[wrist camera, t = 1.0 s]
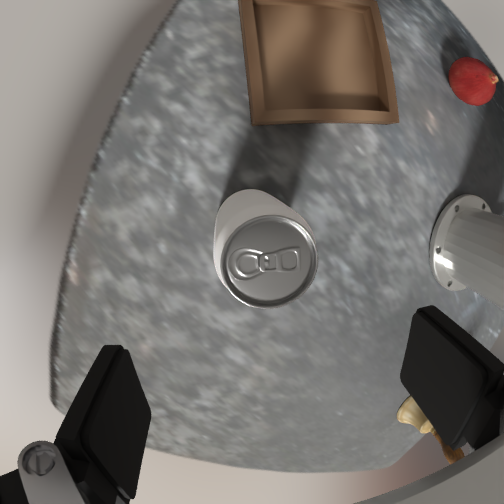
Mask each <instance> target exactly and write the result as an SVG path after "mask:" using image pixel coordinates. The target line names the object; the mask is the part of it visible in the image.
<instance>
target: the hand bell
mask: <svg viewBox="0 0 504 504" xmlns="http://www.w3.org/2000/svg"><path fill="white" fill-rule="evenodd" d="M397 419H398V421H400V422H402V423H410V424H412V425H414V426H415V427H416V428H417V429H418V430H419V431H420V432H421V433H428V432H432V434H433V435H434V436H435V438H436V439H437V440H438V441H439V443H440V444H441V446H442V449H443V452H444V455H445V457H446V459H447V460H448V462H449V463H450V464H453V463H455V462H456V461H458V460H460V459H462V458H464V457H465V456H464V453H463V451H462V450H461V448H458V449H457V450H455V451H453V450H452V448H451V447H450V446H449V445H446V444H445V443H444V442H443V441H442V439H441V438H440V436H439V435H438V433H437V432H436V430H435V429H434V427H433V426H432V425H431V423H430V422H429V420H428V419H427V417H426V416H425V415H424V413H423V412H422V410H421V409H420V408H419V406H418V405H417V403H416V402H415V400H414V399H413V398H412V396H410V397H409V398H407V399H406V400H405V402H404V403H403V404H402V405H401V407H400V408H399V410H398V413H397Z"/></svg>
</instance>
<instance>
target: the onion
mask: <svg viewBox="0 0 504 504" xmlns="http://www.w3.org/2000/svg"><path fill="white" fill-rule="evenodd" d="M448 77H449V83H450V87H451V88H452V90H453V92H454V93H455V95H456V96H457V97H458V98H459V99H461V100H462V101H463V102H465V103H467V104H470V105H475V106H479V105H483V104H485V103H487V102H489V101H490V100H491V98H492V97H493V95H494V93H495V90H496V82H498V81H499V80H498V77H497V76H496V75H495V74H494V73H493V72H492V71H491V69H490V68H489V67H488V66H486V65H485V64H484V63H483V62H482V61H480V60H478V59H474V58H470V57H462V58H460V59H458V60H456V61H455V62H454V63H453V64H452V66H451V67H450V70H449V76H448Z"/></svg>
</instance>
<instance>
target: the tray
mask: <svg viewBox="0 0 504 504" xmlns="http://www.w3.org/2000/svg"><path fill="white" fill-rule="evenodd" d="M238 4H239V13H240V22H241V31H242V39H243V49H244V58H245V67H246V76H247V86H248V95H249V105H250V115H251V125H252V126H260V125H275V124H297V123H364V124H386V125H387V124H393V123H399V115H398V106H397V98H396V91H395V84H394V78H393V72H392V66H391V61H390V55H389V50H388V45H387V41H386V36H385V32H384V28H383V23H382V19H381V16H380V12H379V8H378V4H377V1H374V0H238Z"/></svg>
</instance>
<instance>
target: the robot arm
mask: <svg viewBox="0 0 504 504" xmlns="http://www.w3.org/2000/svg"><path fill="white" fill-rule="evenodd" d="M429 255H430V266H431V270H432V273H433V276H434V277H435V279H436V280H437V282H438V283H439V284H440V285H441V286H443V287H445V288H446V289H448V290H451V291H460V290H463V289H466V288H467V287H468V288H469V289H471V290H473V291H474V292H476V293H477V294H479V295H481V296H482V297H484V298H485V299H487V300H488V301H490V302H492V303H493V304H495V305H496V306H498V307H499V308H501V309H502V310H504V216H500V215H497V214H494V213H492V212H491V209H490V207H489V206H488V204H487V203H486V202H485V201H484V200H483V199H482V198H480V197H478V196H475V195H471V194H464V195H461V196H458V197H456V198H455V199H453V200H452V201H451V202H450V203H449V204H448V205H447V206H446V207H445V208H444V209H443V211H442V212H441V214H440V216H439V218H438V220H437V222H436V224H435V227H434V230H433V233H432V237H431V241H430V250H429ZM503 373H504V364H503V363H502V362H501V361H500V360H499V359H498V358H496V357H495V356H494V355H493V354H492V353H491V352H490V351H489V350H487V349H486V348H485V347H484V346H483V345H482V344H480V343H479V342H478V341H477V340H476V339H474V338H473V337H472V336H471V335H470V334H469V333H467V332H466V331H465V330H464V329H462V328H461V327H460V326H459V325H458V324H456V323H455V322H454V321H453V320H451V319H450V318H449V317H448V316H446V315H445V314H444V313H443V312H441V311H440V310H439V309H438V308H436V307H435V306H433V305H430V306H426V307H422V308H419V309H417V311H416V313H415V314H414V315H413V317H412V323H411V328H410V333H409V338H408V343H407V348H406V352H405V357H404V361H403V365H402V369H401V373H400V379H401V382H402V384H403V385H404V387H405V388H406V389H407V391H408V392H409V394H410V395H411V396H412V398H413V399H414V400H415V402H416V403H417V405H418V406H419V408H420V409H421V410H422V412H423V413H424V415H425V416H426V417H427V419H428V420H429V422H430V423H431V425H432V426H433V427H434V429H435V430H436V432H437V433H438V435H439V436H440V438H441V439H442V441H443V442H444V443H445V444H446V445H449V446H450V447H451V448H452V450H453V451H455V450H457V449H458V448H460V447H462V446H464V445H465V444H466V443H467V442H468V443H469V444H470V448H469V455H467V456H465V457H464V458H462V459H460V460H458V461H456V462H455V463H453V464H451V465H449V466H447V467H445V468H443V469H441V470H439V471H437V472H435V473H433V474H431V475H429V476H426V477H424V478H422V479H420V480H417V481H415V482H413V483H411V484H408V485H406V486H403V487H401V488H398V489H396V490H393V491H390V492H388V493H385V494H382V495H379V496H376V497H373V498H370V499H367V500H364V501H361V502H357V503H354V504H504V375H503ZM150 421H151V410H150V407H149V404H148V402H147V399H146V397H145V394H144V392H143V389H142V387H141V384H140V381H139V379H138V376H137V373H136V370H135V367H134V365H133V362H132V359H131V356H130V353H129V351H128V350H127V349H124V348H123V347H122V346H121V345H104V346H103V347H102V349H101V351H100V352H99V354H98V356H97V358H96V360H95V361H94V363H93V365H92V367H91V369H90V370H89V372H88V374H87V376H86V378H85V380H84V381H83V383H82V385H81V387H80V389H79V391H78V393H77V395H76V397H75V399H74V400H73V402H72V404H71V406H70V408H69V410H68V412H67V414H66V416H65V419H64V420H63V422H62V424H61V427H60V429H59V431H58V433H57V435H56V439H55V441H54V443H51V442H48V441H36V442H32V443H31V444H29V445H27V446H26V447H25V448H24V449H23V450H22V451H21V453H20V454H19V457H18V469H16V470H14V471H12V472H9V473H7V474H4V475H2V476H0V504H129V502H130V499H134V498H135V495H136V490H137V485H138V479H139V474H140V469H141V463H142V458H143V454H144V449H145V444H146V439H147V435H148V430H149V425H150Z"/></svg>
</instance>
